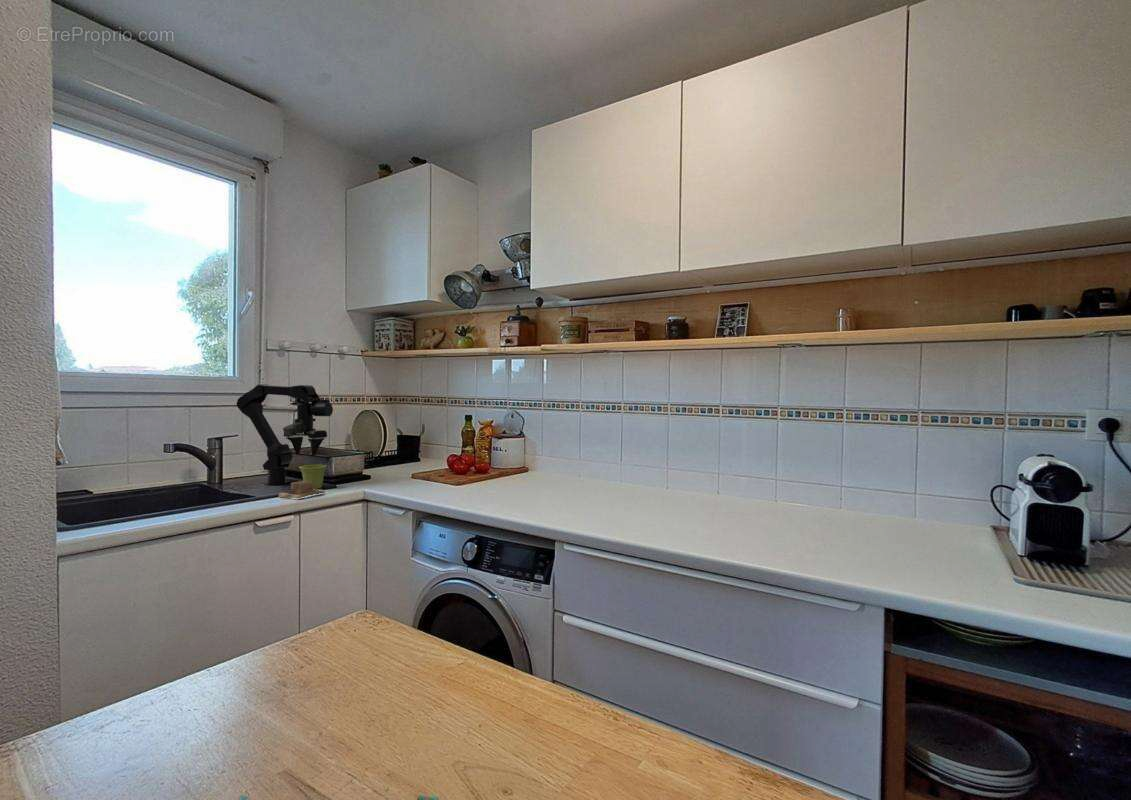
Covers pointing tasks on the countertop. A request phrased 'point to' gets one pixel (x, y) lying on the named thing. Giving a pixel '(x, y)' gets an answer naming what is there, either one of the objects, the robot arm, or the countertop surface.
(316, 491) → the oak bay
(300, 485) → the walnut cube
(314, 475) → the plant pot
